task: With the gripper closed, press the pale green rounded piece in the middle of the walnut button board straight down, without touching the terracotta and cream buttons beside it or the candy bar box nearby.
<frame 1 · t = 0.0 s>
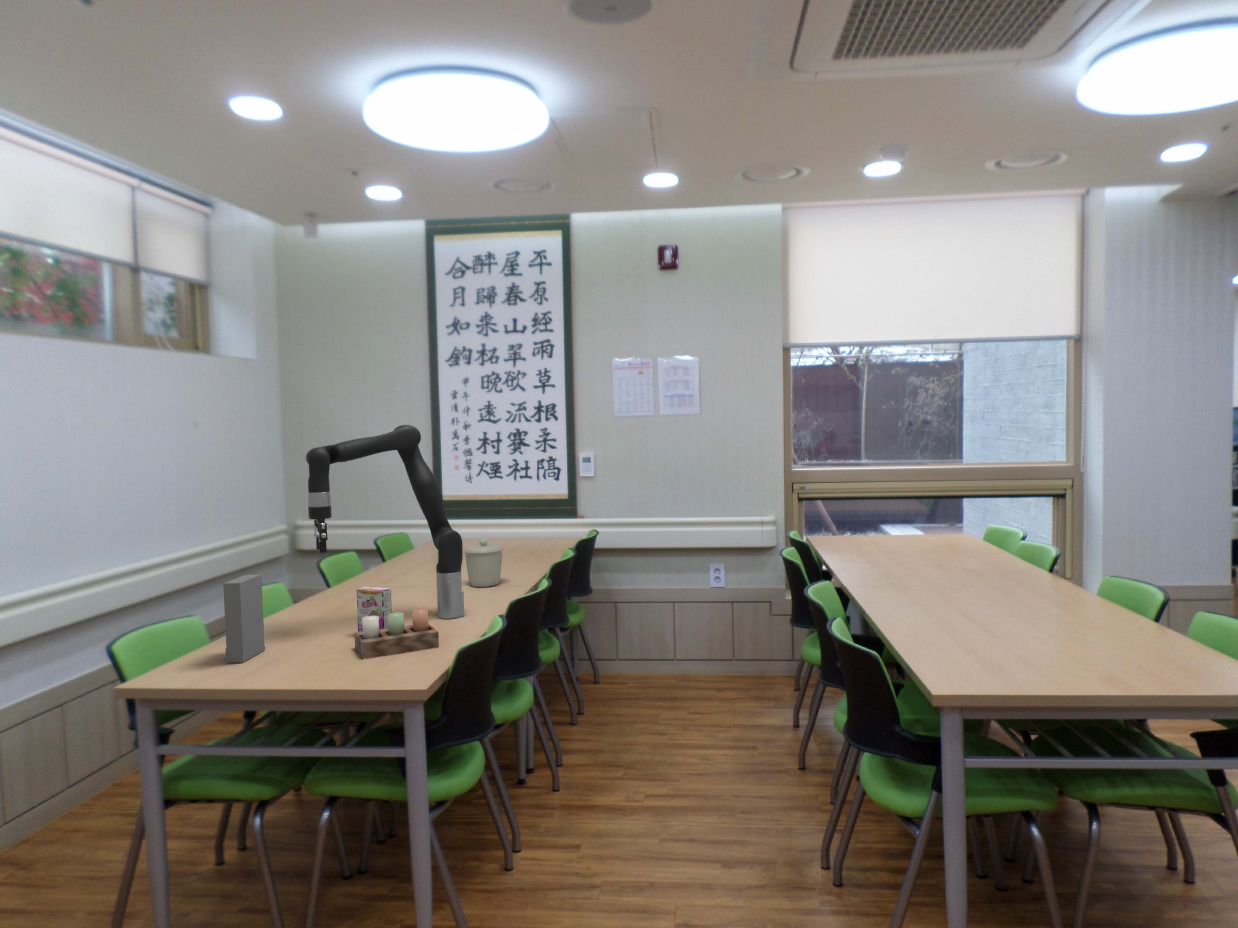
hand: (321, 550, 271), 29 cm above the table, tool pointing down, fingers open, 8 cm apart
button board: (396, 647, 253), on the table
pale green rounded piece: (396, 624, 253), point 7 cm above the table, slide at 0.0 cm
upright grey tower: (245, 657, 246), on the table
candy bar box: (375, 635, 269), on the table
canister: (484, 585, 351), on the table
button terracotta: (420, 621, 257), point 7 cm above the table, slide at 0.0 cm
button cream: (370, 628, 249), point 7 cm above the table, slide at 0.0 cm
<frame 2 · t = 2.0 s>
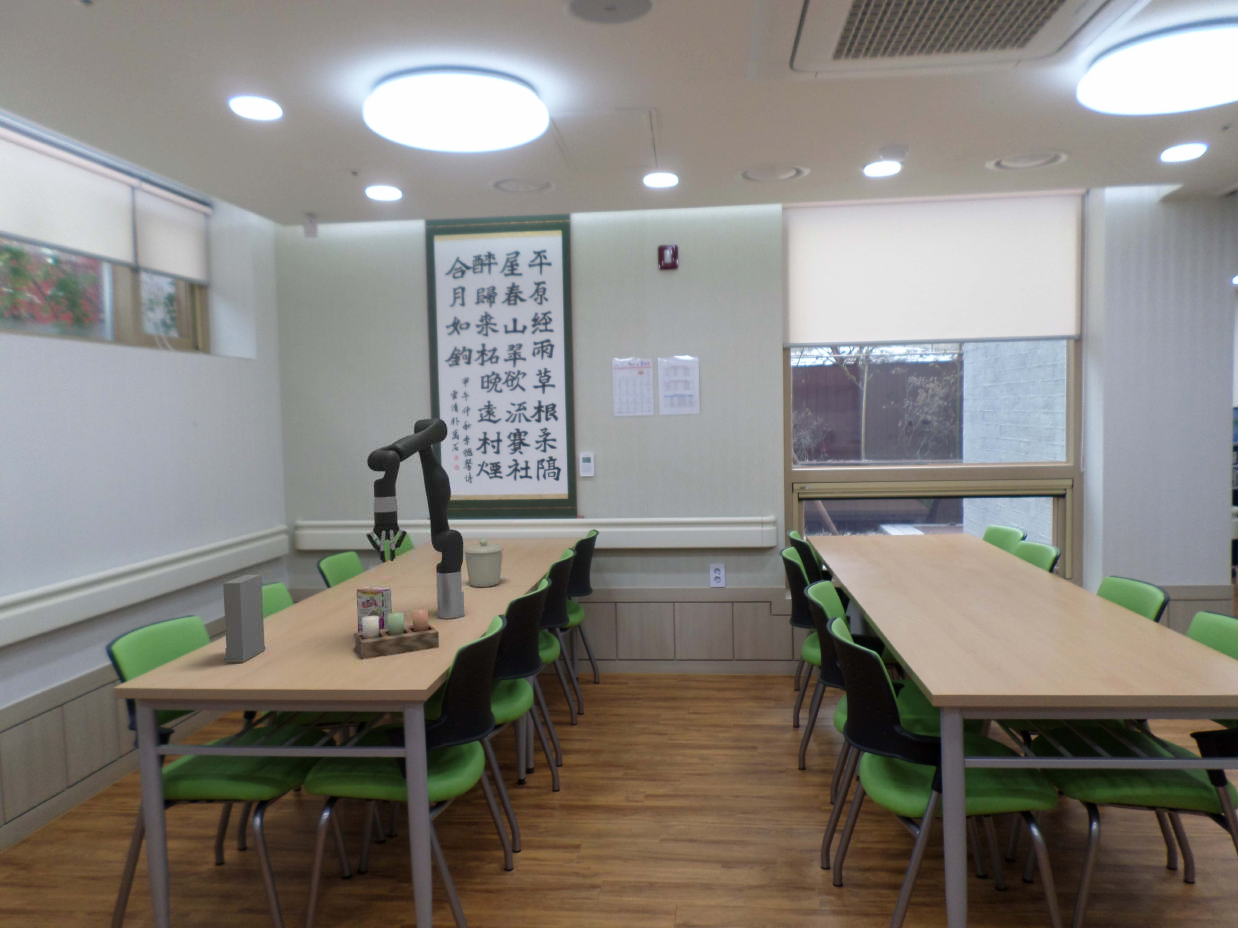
hand: (387, 560, 261), 27 cm above the table, tool pointing down, fingers closed
nothing on the table moved.
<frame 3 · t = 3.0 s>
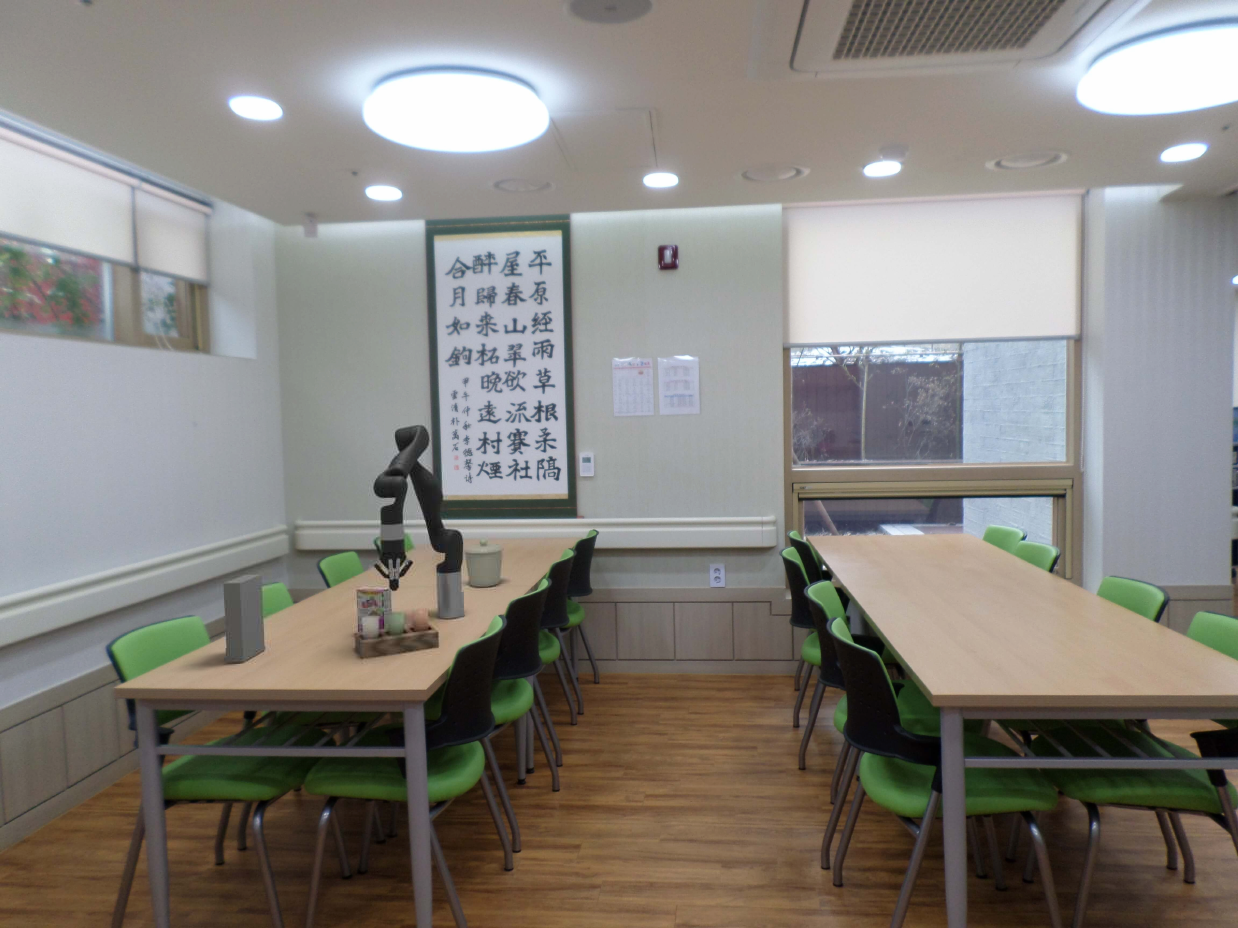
hand: (394, 590, 252), 19 cm above the table, tool pointing down, fingers closed
nothing on the table moved.
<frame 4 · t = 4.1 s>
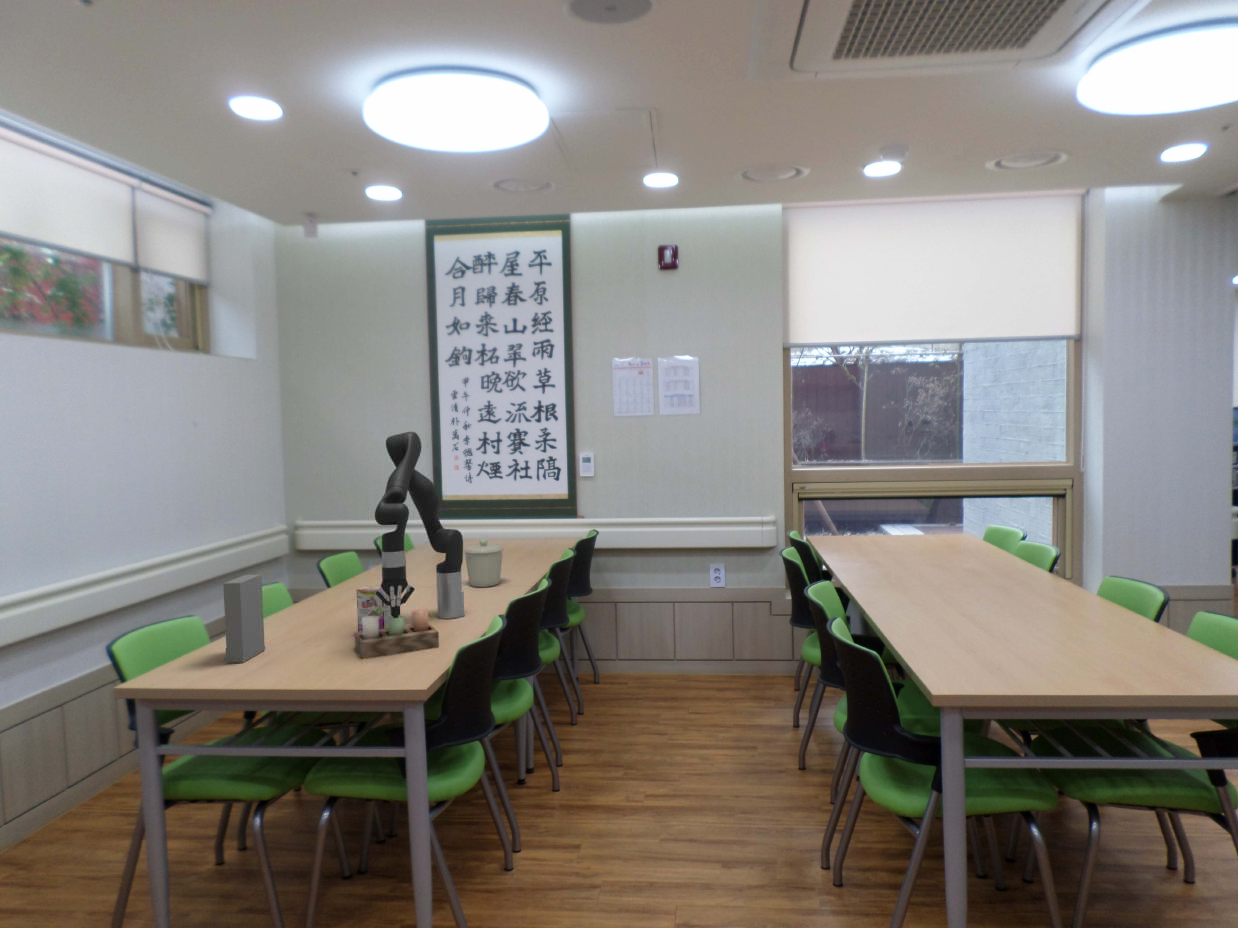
hand: (395, 617, 253), 10 cm above the table, tool pointing down, fingers closed
pale green rounded piece: (396, 628, 253), point 6 cm above the table, slide at 1.0 cm, touching gripper
everything else where it was.
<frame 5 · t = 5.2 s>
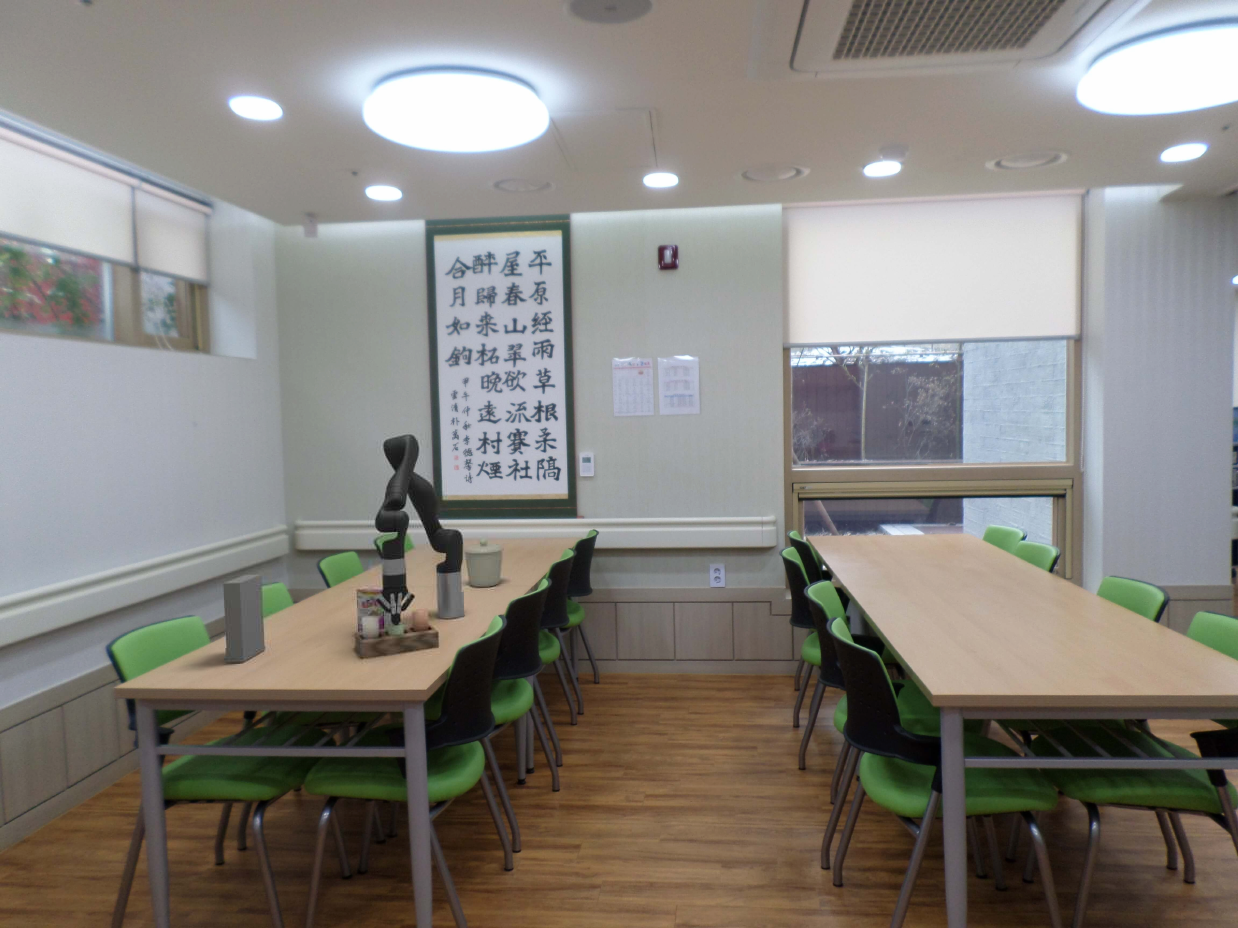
hand: (395, 624, 253), 8 cm above the table, tool pointing down, fingers closed
pale green rounded piece: (396, 635, 253), point 4 cm above the table, slide at 3.5 cm
everything else where it was.
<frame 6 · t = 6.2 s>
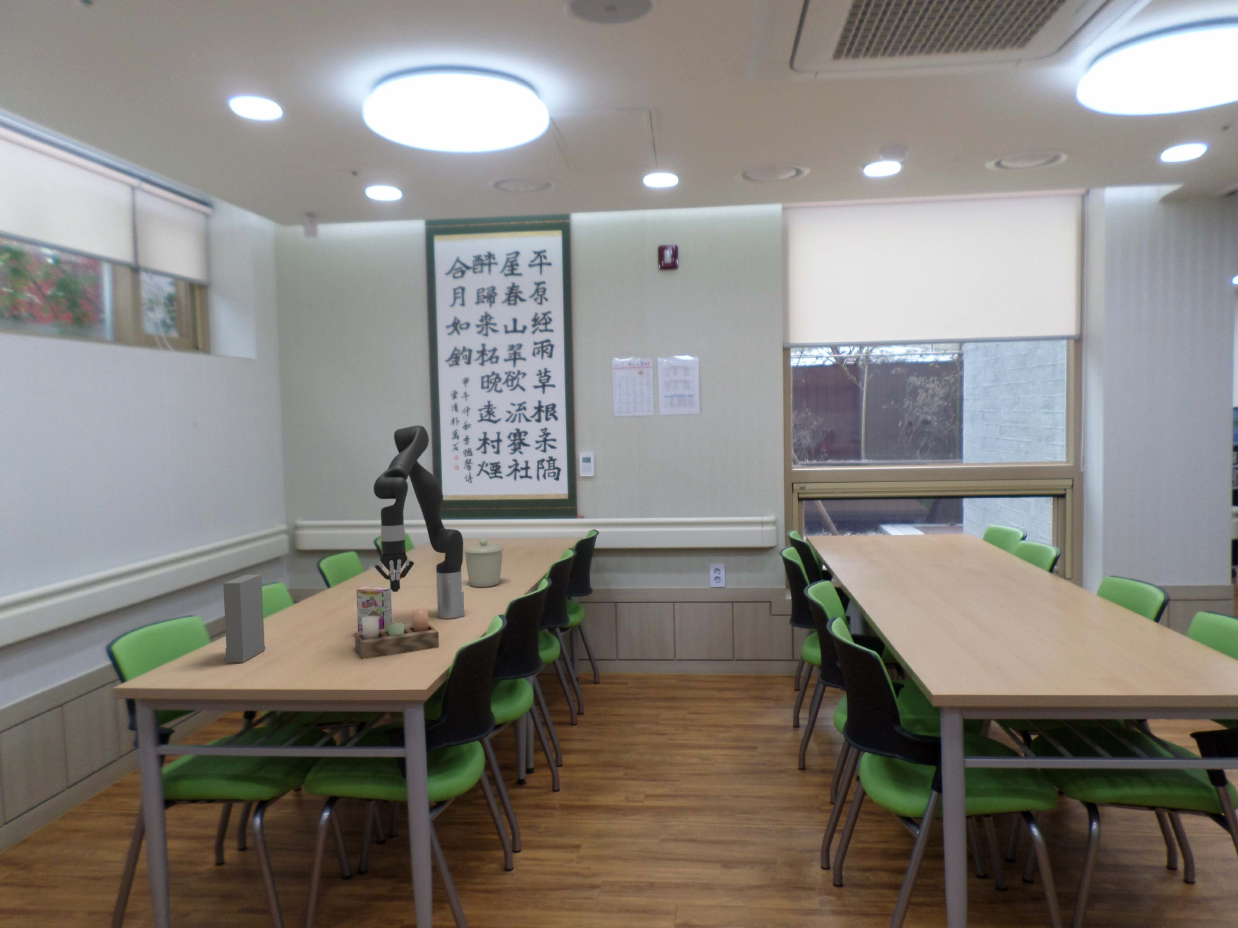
hand: (395, 591, 252), 19 cm above the table, tool pointing down, fingers closed
nothing on the table moved.
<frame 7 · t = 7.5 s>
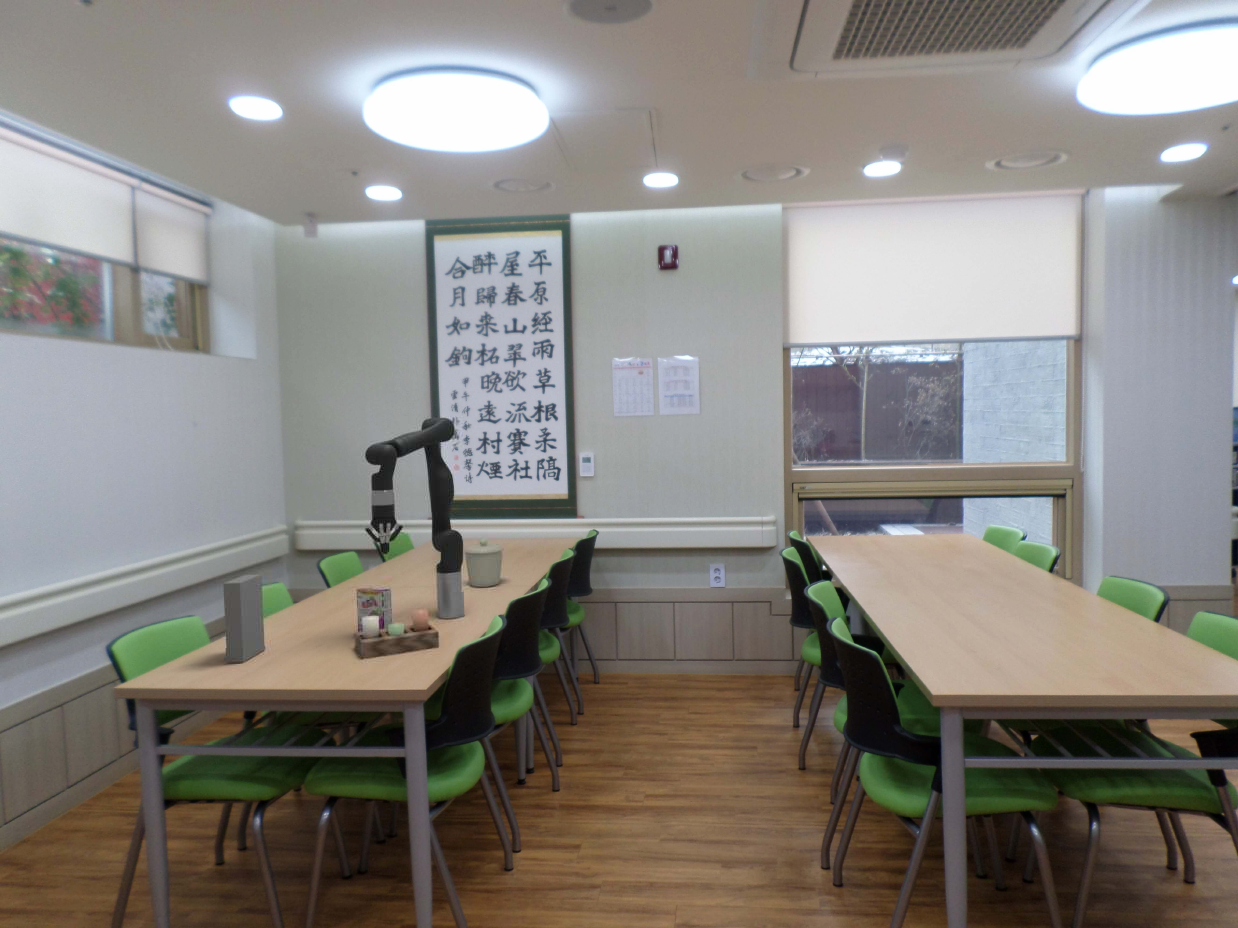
hand: (384, 553, 264), 29 cm above the table, tool pointing down, fingers closed
nothing on the table moved.
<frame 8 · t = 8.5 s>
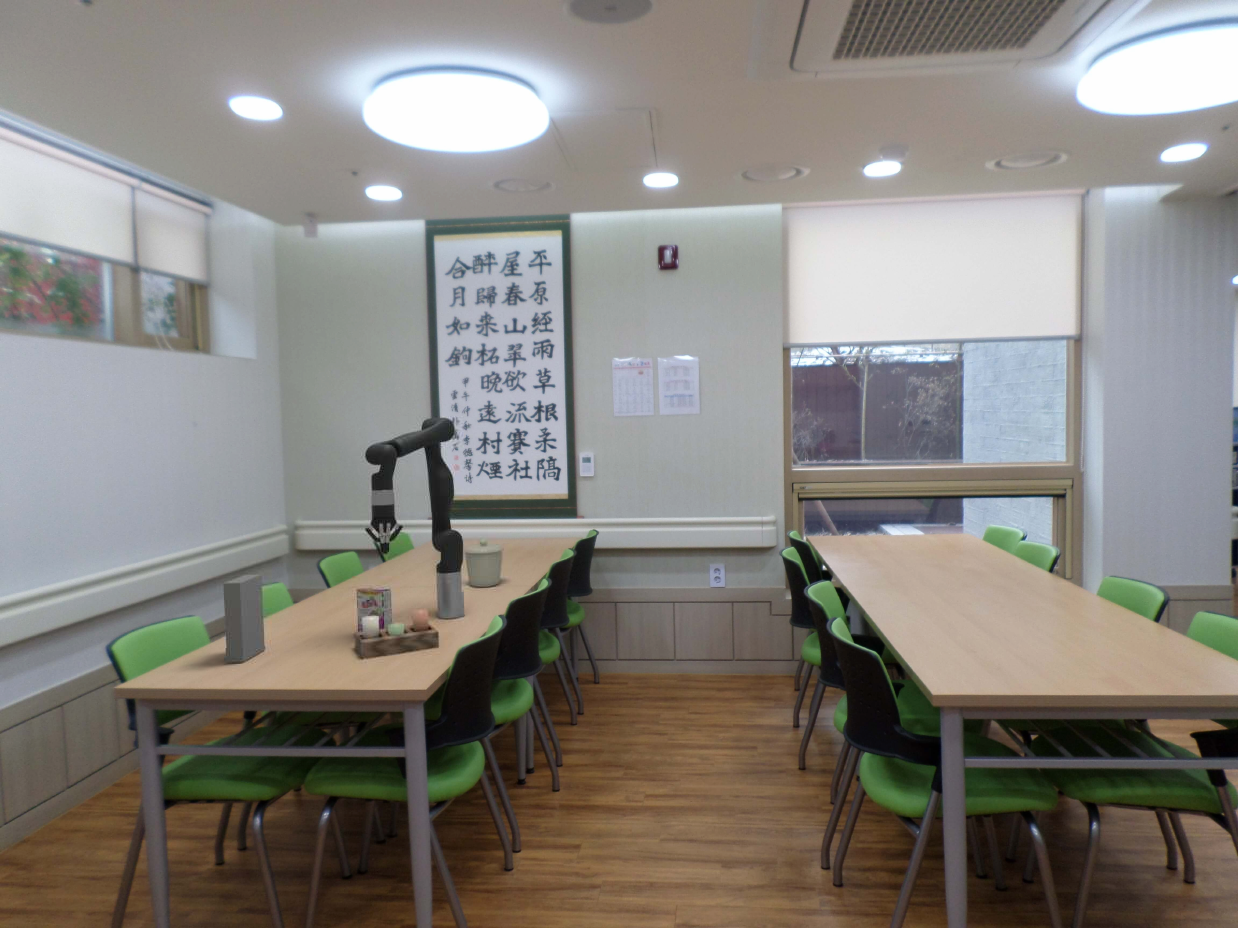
hand: (384, 553, 264), 29 cm above the table, tool pointing down, fingers closed
nothing on the table moved.
at the end: pale green rounded piece slide at 3.5 cm; button terracotta slide at 0.0 cm; button cream slide at 0.0 cm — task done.
